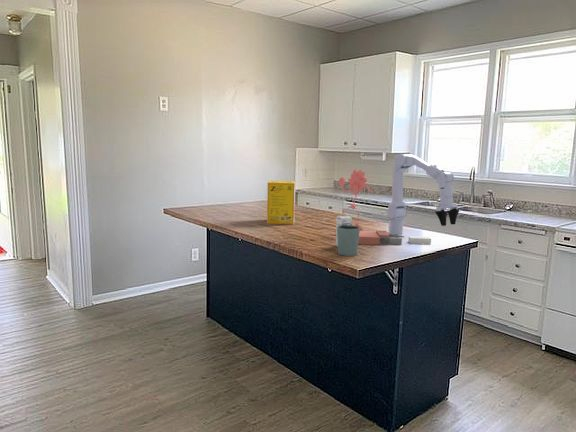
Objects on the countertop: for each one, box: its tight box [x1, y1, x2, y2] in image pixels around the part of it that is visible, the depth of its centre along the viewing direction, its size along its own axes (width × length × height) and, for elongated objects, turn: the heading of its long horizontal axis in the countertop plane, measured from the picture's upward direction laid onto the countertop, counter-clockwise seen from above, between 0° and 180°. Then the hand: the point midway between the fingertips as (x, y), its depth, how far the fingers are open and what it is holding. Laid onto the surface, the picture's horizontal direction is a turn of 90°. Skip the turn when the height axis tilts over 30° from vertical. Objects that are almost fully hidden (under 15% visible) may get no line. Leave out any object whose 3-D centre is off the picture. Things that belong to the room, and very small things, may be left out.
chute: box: [408, 235, 432, 245], centre depth 222 cm, size 5×10×3 cm, turn 84°
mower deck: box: [358, 229, 403, 246], centre depth 224 cm, size 16×21×4 cm
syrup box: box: [335, 215, 353, 247], centre depth 209 cm, size 6×6×14 cm
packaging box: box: [266, 180, 296, 225], centre depth 275 cm, size 16×16×25 cm
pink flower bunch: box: [338, 169, 374, 231], centre depth 244 cm, size 15×26×35 cm, turn 38°
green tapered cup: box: [337, 225, 361, 257], centre depth 195 cm, size 10×10×12 cm
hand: (448, 225), depth 213 cm, fingers open, 7 cm apart
